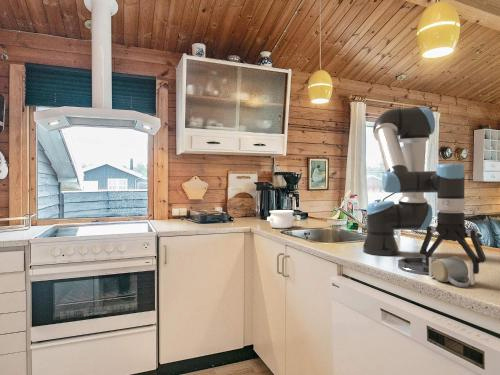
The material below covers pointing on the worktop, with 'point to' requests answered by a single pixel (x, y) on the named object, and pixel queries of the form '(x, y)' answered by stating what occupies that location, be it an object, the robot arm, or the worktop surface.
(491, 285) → the worktop surface
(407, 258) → the ring plate
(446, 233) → the robot arm
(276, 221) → the pot
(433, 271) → the ceramic mug
